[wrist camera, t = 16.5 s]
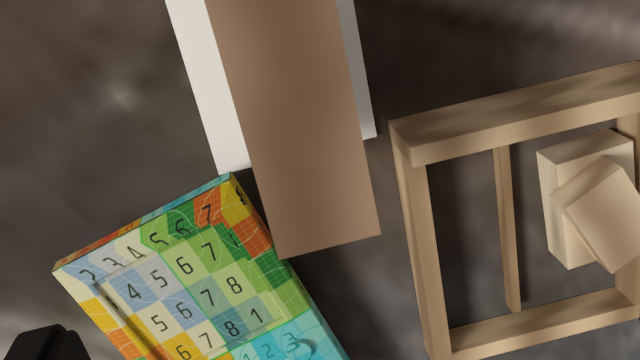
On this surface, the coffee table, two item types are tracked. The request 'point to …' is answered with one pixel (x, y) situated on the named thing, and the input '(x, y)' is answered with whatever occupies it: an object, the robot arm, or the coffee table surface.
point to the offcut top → (603, 212)
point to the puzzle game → (198, 285)
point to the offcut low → (561, 167)
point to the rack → (511, 204)
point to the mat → (214, 87)
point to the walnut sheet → (297, 119)
